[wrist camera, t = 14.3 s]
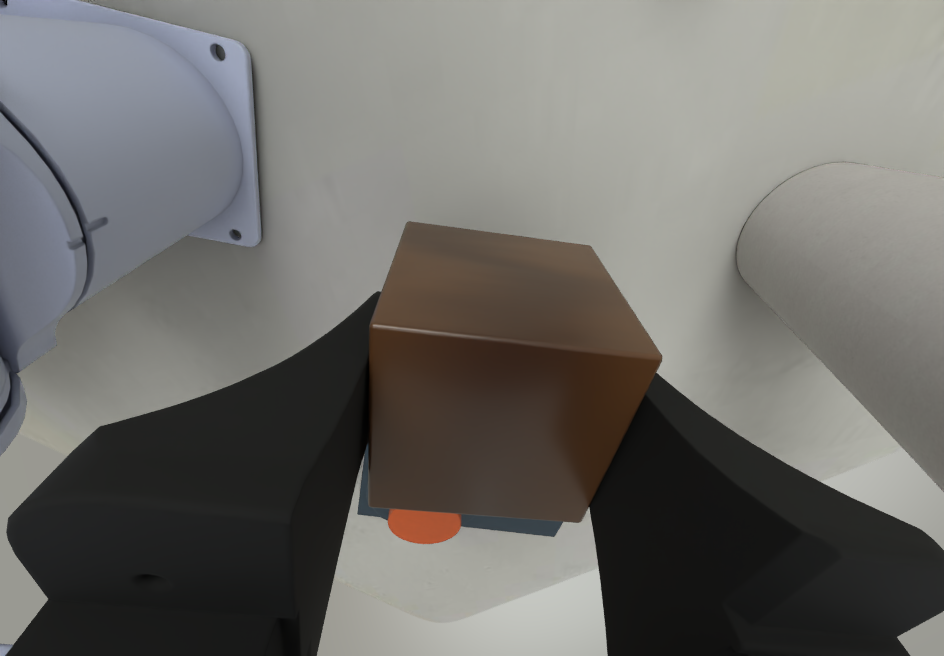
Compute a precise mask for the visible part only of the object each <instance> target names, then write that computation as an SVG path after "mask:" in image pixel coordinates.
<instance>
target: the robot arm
mask: <svg viewBox="0 0 944 656" xmlns="http://www.w3.org/2000/svg"><path fill="white" fill-rule="evenodd" d="M7 4H8V5H7V6H6V5H5V4H4V3H3V1H2V0H0V456H1V455H2V454H3V453H4V452H5V450H6V449H7V448H8V446H9V445H10V444H11V442H12V441H13V439H14V438H15V437H16V435H17V434H18V432H19V429H20V427H21V425H22V423H23V421H24V418H25V411H26V405H27V399H26V395H25V390H24V387H23V384H22V382H21V379H20V377H19V376H18V375H17V374H16V373H18V372H20V371H21V370H23V369H24V368H26V367H27V366H28V365H30V364H31V363H33V362H34V361H35V360H37V359H38V358H40V357H41V356H43V355H44V354H45V353H47V352H48V351H50V350H51V349H52V348H54V347H55V346H57V342H56V337H55V330H56V326H57V323H58V321H59V320H60V319H61V318H62V317H63V316H64V315H65V314H66V313H67V312H69V311H71V310H72V309H74V308H75V307H77V306H78V305H80V304H82V303H83V302H85V301H86V300H88V299H89V298H91V297H92V296H94V295H95V294H97V293H99V292H100V291H102V290H103V289H105V288H106V287H108V286H109V285H111V284H112V283H114V282H115V281H117V280H119V279H120V278H122V277H123V276H125V275H126V274H128V273H129V272H131V271H132V270H134V269H136V268H137V267H139V266H140V265H142V264H143V263H145V262H146V261H148V260H149V259H151V258H153V257H154V256H156V255H157V254H159V253H160V252H162V251H163V250H165V249H166V248H168V247H170V246H171V245H173V244H174V243H176V242H177V241H179V240H180V239H182V238H183V237H185V236H187V235H188V236H193V237H198V238H204V239H209V240H214V241H219V242H224V243H230V244H235V245H240V246H245V247H254V246H256V245H257V244H258V243H259V242H260V241H261V237H262V235H261V218H260V202H259V185H258V168H257V151H256V134H255V117H254V100H253V83H252V67H251V57H250V53H249V51H248V50H247V48H246V47H245V46H244V45H243V44H242V43H241V42H239V41H237V40H234V39H230V38H226V37H222V36H218V35H214V34H210V33H206V32H202V31H198V30H194V29H190V28H186V27H182V26H178V25H174V24H170V23H167V22H163V21H159V20H155V19H151V18H147V17H143V16H139V15H135V14H131V13H127V12H123V11H119V10H115V9H111V8H107V7H103V6H99V5H96V4H92V3H88V2H84V1H80V0H7ZM217 45H220V46H222V48H223V49H224V51H225V54H226V56H225V59H224V60H221V59H220V58H219V57H218V56H217V54H216V51H215V50H216V46H217ZM233 229H235V230H237V231H239V232H240V233H241V237H238V236H236V235H235V234H234V232H233ZM380 294H381V292H379V291H377V292H376V293H374V294H373V295H372V296H371V297H370V298H369V299H368V300H367V301H365V302H364V303H363V304H362V305H361V306H360V307H359V308H358V309H357V310H356V311H354V312H353V313H352V314H351V315H350V316H348V317H347V318H346V319H345V320H344V321H342V322H341V323H340V324H339V325H337V326H336V327H335V328H333V329H332V330H331V331H329V332H328V333H327V334H325V335H324V336H322V337H321V338H319V339H318V340H317V341H315V342H314V343H312V344H311V345H309V346H308V347H306V348H305V349H303V350H301V351H300V352H298V353H297V354H295V355H293V356H292V357H290V358H288V359H286V360H284V361H282V362H281V363H279V364H277V365H275V366H273V367H271V368H268V369H266V370H264V371H262V372H260V373H257V374H255V375H253V376H251V377H249V378H246V379H244V380H242V381H240V382H238V383H235V384H233V385H230V386H228V387H225V388H223V389H220V390H217V391H215V392H212V393H209V394H207V395H204V396H201V397H198V398H195V399H192V400H189V401H187V402H184V403H180V404H177V405H174V406H171V407H168V408H164V409H161V410H157V411H154V412H150V413H147V414H143V415H140V416H136V417H133V418H129V419H126V420H122V421H119V422H115V423H111V424H107V425H104V426H100V427H99V428H97V429H96V430H95V431H94V432H93V433H92V434H91V435H90V436H89V437H87V438H86V439H85V440H84V441H83V442H82V443H81V444H80V445H79V446H78V447H77V448H75V449H74V450H73V451H72V452H71V453H70V454H69V455H68V456H67V458H66V459H65V460H64V461H63V462H62V463H61V464H60V465H59V466H58V467H57V468H56V469H55V470H54V471H53V472H52V473H51V474H50V475H49V476H48V477H47V478H46V479H45V480H44V481H43V482H42V483H41V484H40V485H39V486H38V487H37V488H36V490H34V492H33V493H32V494H31V495H30V496H29V497H28V498H27V499H26V500H25V501H24V502H23V503H22V504H21V505H20V506H19V507H18V508H17V509H16V510H15V511H14V512H13V514H12V515H11V516H10V517H9V518H8V524H7V537H8V541H9V543H10V545H11V547H12V549H13V551H14V553H15V555H16V556H17V558H18V559H19V560H20V561H21V563H22V564H23V566H24V567H25V568H26V570H27V571H28V572H29V574H30V575H31V576H32V578H33V579H34V580H35V582H36V583H37V584H38V586H39V587H40V588H41V590H42V591H43V592H44V594H45V595H46V596H47V598H48V601H47V602H46V603H45V605H44V606H43V607H42V608H41V610H40V611H39V612H38V614H37V615H36V616H35V618H34V619H33V620H32V621H31V623H30V624H29V625H28V627H27V628H26V629H25V631H24V632H23V633H22V635H21V636H20V637H19V638H18V640H17V641H16V642H15V644H14V645H10V644H0V656H317V651H318V647H319V642H320V638H321V633H322V629H323V624H324V619H325V615H326V610H327V606H328V601H329V597H330V592H331V588H332V583H333V579H334V574H335V570H336V566H337V561H338V557H339V552H340V548H341V544H342V539H343V535H344V531H345V526H346V522H347V518H348V513H349V509H350V505H351V501H352V496H353V492H354V488H355V484H356V479H357V476H358V472H359V469H360V465H361V462H362V459H363V456H364V453H365V450H366V447H367V444H368V414H369V325H370V322H371V319H372V317H373V314H374V311H375V308H376V306H377V303H378V300H379V297H380ZM589 508H590V514H591V520H592V526H593V532H594V538H595V544H596V552H597V559H598V566H599V573H600V580H601V590H602V599H603V608H604V618H605V627H606V639H607V652H608V656H910V655H909V653H908V652H907V651H906V649H905V648H904V646H903V645H902V644H901V643H900V641H899V640H898V638H897V636H899V635H901V634H903V633H904V632H907V631H908V630H910V629H912V628H914V627H916V626H918V625H919V624H921V623H923V622H925V621H926V620H929V619H930V618H932V617H934V616H936V615H938V614H939V613H941V612H943V611H944V550H943V549H942V548H941V547H940V546H939V545H938V544H937V543H936V542H935V541H934V540H933V539H932V538H931V537H930V536H928V535H927V534H926V533H925V532H923V531H922V530H920V529H919V528H917V527H915V526H912V525H910V524H908V523H905V522H904V521H901V520H899V519H897V518H895V517H893V516H890V515H888V514H886V513H884V512H882V511H879V510H877V509H875V508H873V507H871V506H868V505H866V504H864V503H862V502H860V501H857V500H855V499H853V498H851V497H849V496H847V495H845V494H843V493H841V492H839V491H837V490H835V489H833V488H831V487H829V486H827V485H825V484H823V483H821V482H819V481H817V480H816V479H814V478H812V477H810V476H808V475H806V474H804V473H802V472H800V471H799V470H797V469H795V468H793V467H791V466H790V465H788V464H786V463H784V462H782V461H781V460H779V459H777V458H776V457H774V456H772V455H771V454H769V453H767V452H766V451H764V450H762V449H761V448H759V447H757V446H755V445H754V444H752V443H751V442H749V441H747V440H746V439H744V438H743V437H741V436H740V435H738V434H736V433H735V432H734V431H732V430H731V429H729V428H728V427H726V426H725V425H723V424H722V423H720V422H719V421H717V420H716V419H715V418H713V417H712V416H710V415H709V414H707V413H706V412H705V411H703V410H702V409H701V408H699V407H698V406H697V405H695V404H694V403H693V402H692V401H690V400H689V399H688V398H686V397H685V396H684V395H683V394H681V393H680V392H679V391H678V390H676V389H675V388H674V387H673V386H672V385H670V384H669V383H668V382H667V381H665V380H664V379H663V378H662V377H661V376H660V375H658V374H657V373H656V374H655V376H654V378H653V380H652V382H651V384H650V386H649V388H648V390H647V392H646V394H645V396H644V398H643V400H642V402H641V404H640V406H639V408H638V410H637V412H636V414H635V416H634V418H633V420H632V422H631V424H630V426H629V428H628V430H627V432H626V434H625V436H624V438H623V440H622V442H621V444H620V446H619V448H618V450H617V452H616V454H615V456H614V458H613V460H612V462H611V464H610V466H609V468H608V470H607V472H606V474H605V476H604V478H603V480H602V482H601V483H600V485H599V487H598V489H597V491H596V493H595V495H594V497H593V499H592V501H591V503H590V505H589Z"/></svg>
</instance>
